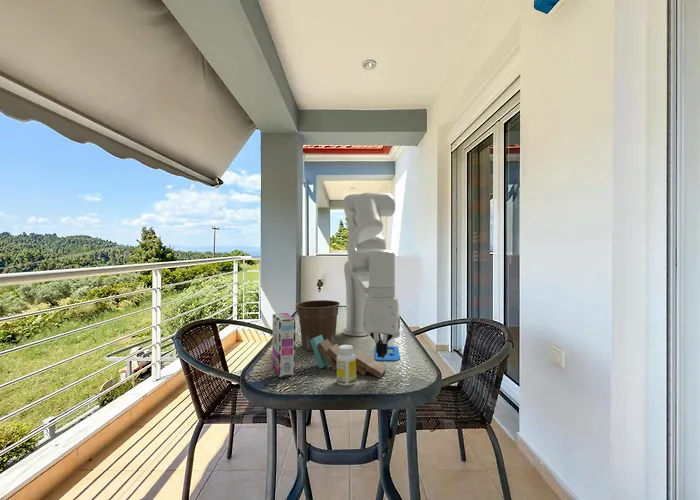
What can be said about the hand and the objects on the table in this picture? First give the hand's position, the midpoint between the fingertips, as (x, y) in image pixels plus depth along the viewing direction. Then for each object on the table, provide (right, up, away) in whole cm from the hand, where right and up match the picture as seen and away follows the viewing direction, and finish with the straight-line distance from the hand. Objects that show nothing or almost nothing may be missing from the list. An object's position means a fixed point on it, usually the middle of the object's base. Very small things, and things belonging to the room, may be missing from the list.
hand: (381, 355), depth 98 cm
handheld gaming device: (+4, -6, +19) cm, 20 cm away
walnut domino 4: (0, -5, 0) cm, 5 cm away
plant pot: (-21, -6, +28) cm, 35 cm away
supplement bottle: (-10, -6, -5) cm, 13 cm away
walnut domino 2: (-8, -5, +4) cm, 10 cm away
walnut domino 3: (-4, -5, +2) cm, 7 cm away
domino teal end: (-17, -5, +7) cm, 19 cm away
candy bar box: (-29, -6, +4) cm, 30 cm away
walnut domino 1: (-13, -5, +5) cm, 15 cm away
